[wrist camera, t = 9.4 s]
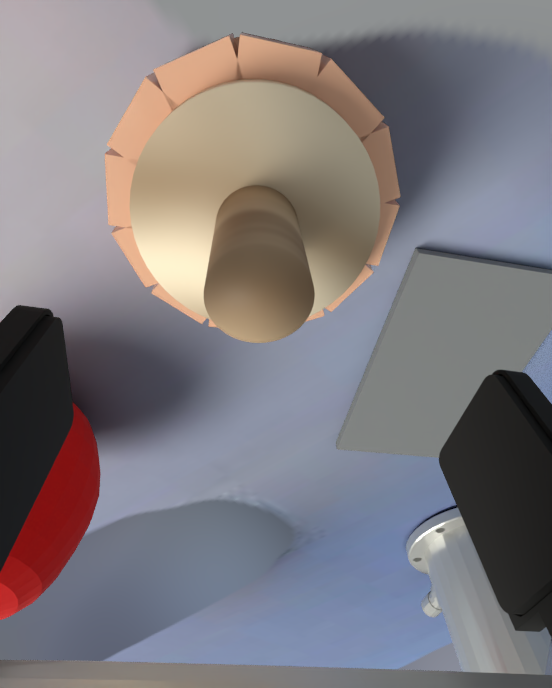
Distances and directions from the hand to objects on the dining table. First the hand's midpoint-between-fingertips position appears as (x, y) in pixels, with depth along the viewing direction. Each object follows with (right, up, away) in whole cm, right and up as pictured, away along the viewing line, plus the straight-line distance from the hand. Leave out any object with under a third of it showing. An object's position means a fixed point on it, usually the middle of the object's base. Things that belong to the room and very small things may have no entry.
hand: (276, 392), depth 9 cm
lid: (-1, +6, +7) cm, 9 cm away
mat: (+11, -1, +18) cm, 21 cm away
